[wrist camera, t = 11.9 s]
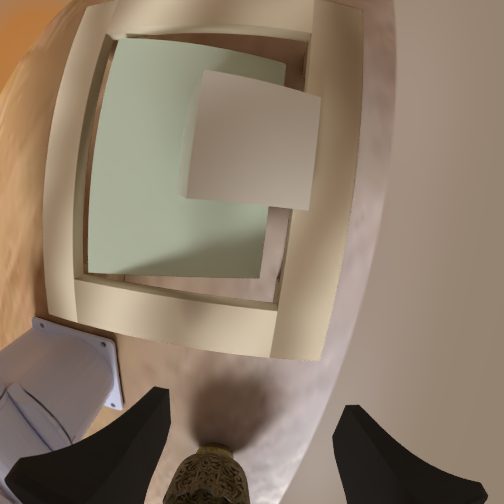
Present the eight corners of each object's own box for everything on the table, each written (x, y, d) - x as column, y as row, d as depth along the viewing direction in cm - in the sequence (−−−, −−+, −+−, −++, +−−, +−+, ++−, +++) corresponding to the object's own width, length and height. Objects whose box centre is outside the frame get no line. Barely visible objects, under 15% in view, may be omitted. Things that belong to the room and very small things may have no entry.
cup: (257, 433, 23) (257, 501, 15) (248, 472, 24) (246, 531, 17) (177, 422, 23) (157, 487, 15) (180, 463, 24) (166, 520, 17)
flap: (91, 255, 15) (79, 272, 13) (116, 60, 13) (110, 38, 10) (241, 262, 19) (259, 278, 16) (265, 80, 16) (286, 63, 13)
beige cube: (176, 192, 13) (186, 198, 9) (188, 102, 12) (204, 69, 8) (264, 201, 15) (308, 210, 11) (275, 117, 14) (321, 97, 10)
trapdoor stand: (101, 279, 20) (48, 314, 13) (129, 48, 16) (87, 6, 10) (300, 307, 20) (319, 361, 13) (331, 59, 17) (362, 9, 10)
